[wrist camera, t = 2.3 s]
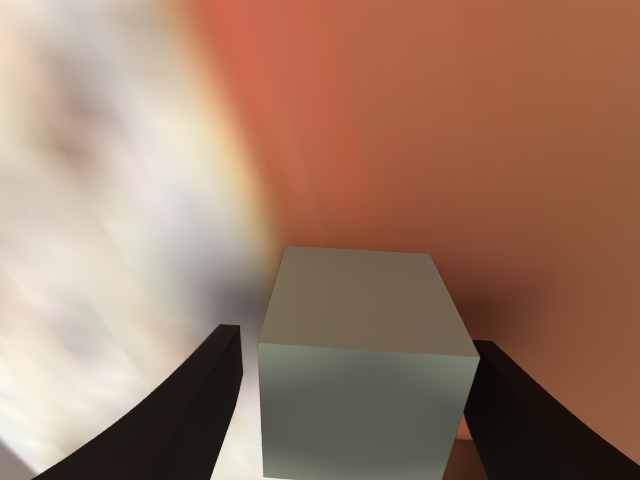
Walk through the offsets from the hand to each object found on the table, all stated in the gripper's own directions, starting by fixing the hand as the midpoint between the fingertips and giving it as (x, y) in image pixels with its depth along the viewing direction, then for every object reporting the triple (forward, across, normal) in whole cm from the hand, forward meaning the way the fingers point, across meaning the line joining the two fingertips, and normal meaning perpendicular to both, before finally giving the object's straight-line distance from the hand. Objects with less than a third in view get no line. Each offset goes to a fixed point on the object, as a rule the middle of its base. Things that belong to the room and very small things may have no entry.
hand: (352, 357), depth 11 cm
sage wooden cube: (+3, 0, 0) cm, 3 cm away
